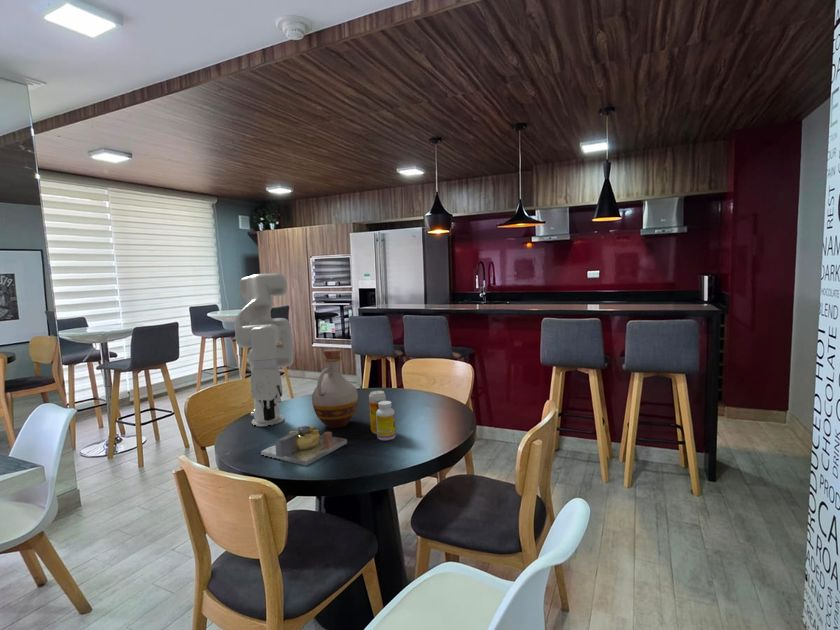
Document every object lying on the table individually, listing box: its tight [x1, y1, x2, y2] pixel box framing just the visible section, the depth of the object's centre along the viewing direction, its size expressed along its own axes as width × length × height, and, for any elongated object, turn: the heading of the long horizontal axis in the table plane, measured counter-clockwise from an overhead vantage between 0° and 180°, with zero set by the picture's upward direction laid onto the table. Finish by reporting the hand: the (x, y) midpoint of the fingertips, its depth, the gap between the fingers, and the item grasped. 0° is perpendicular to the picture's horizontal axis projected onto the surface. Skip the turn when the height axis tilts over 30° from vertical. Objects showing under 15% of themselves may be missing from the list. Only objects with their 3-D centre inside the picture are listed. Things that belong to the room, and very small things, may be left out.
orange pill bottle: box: [368, 390, 387, 435], centre depth 163 cm, size 6×6×15 cm
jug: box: [311, 349, 359, 429], centre depth 172 cm, size 20×18×30 cm
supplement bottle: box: [376, 400, 397, 441], centre depth 157 cm, size 7×7×13 cm
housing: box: [260, 431, 348, 467], centre depth 150 cm, size 20×20×6 cm
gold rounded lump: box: [274, 425, 320, 457], centre depth 147 cm, size 16×10×6 cm, turn 151°
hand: (269, 419), depth 144 cm, fingers closed
